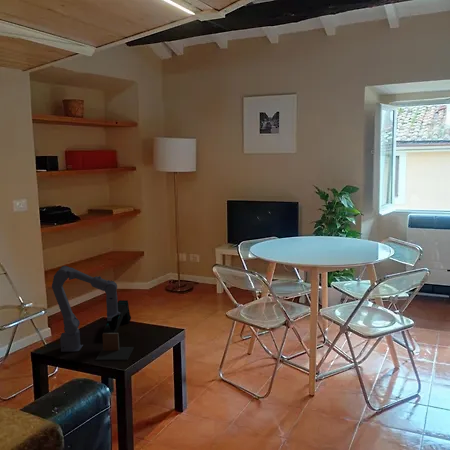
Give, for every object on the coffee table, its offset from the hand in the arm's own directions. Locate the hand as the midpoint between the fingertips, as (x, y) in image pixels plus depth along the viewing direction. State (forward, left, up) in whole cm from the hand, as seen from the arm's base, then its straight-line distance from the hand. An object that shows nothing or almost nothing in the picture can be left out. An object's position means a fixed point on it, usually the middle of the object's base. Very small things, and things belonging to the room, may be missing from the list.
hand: (113, 329), depth 254 cm
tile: (0, -6, -9) cm, 11 cm away
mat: (+3, -10, -9) cm, 14 cm away
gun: (-4, +24, -10) cm, 26 cm away
